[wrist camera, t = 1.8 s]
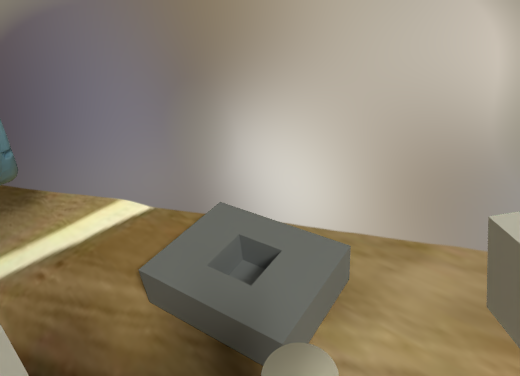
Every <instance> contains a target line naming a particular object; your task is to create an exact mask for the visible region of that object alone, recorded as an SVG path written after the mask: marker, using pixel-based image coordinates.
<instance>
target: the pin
mask: <svg viewBox="0 0 520 376" xmlns="http://www.w3.org/2000/svg"><path fill="white" fill-rule="evenodd" d="M261 376H339V373H338V370H337V367H336V365H335V363H334V361H333V359H332V358H331V357H330V356H329V355H328V354H327V353H326V352H325V351H324V350H322V349H321V348H319V347H317V346H314V345H312V344H308V343H290V344H287V345H284V346H281V347H280V348H278V349H276V350H275V351H274V352H273V353H272V354H271V355H270V356H269V357H268V358H267V360H266V361H265V363H264V366H263V368H262V373H261Z"/></svg>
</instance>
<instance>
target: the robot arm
mask: <svg viewBox="0 0 520 376" xmlns="http://www.w3.org/2000/svg"><path fill="white" fill-rule="evenodd" d="M17 173H18V168H17V164H16V161H15V158H14V156H13V153H12V150H11V148H10V144H9V141H8V138H7V135H6V133H5V130H4V127H3V125H2V122H1V120H0V185H2V184H4V183H7V182H10V181H12V180H13V179H14V178H15V177H16V176H17ZM487 308H488V309H489V310H490V312H491V313H492V314H493V315H494V317H495V318H496V319H497V320H498V322H499V323H500V324H501V325H502V327H503V328H504V329H505V330H506V332H507V333H508V334H509V336H510V337H511V338H512V339H513V341H514V342H515V343H516V344H517V346H518V347H519V348H520V211H519V212H513V213H507V214H501V215H495V216H489V221H488V268H487ZM0 376H29V375H28V373H27V372H26V370H25V368H24V366H23V364H22V363H21V361H20V359H19V357H18V355H17V354H16V352H15V350H14V348H13V346H12V345H11V343H10V341H9V339H8V337H7V336H6V334H5V332H4V330H3V328H2V327H1V325H0Z"/></svg>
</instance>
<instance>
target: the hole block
mask: <svg viewBox="0 0 520 376" xmlns="http://www.w3.org/2000/svg"><path fill="white" fill-rule="evenodd" d="M350 247H351V246H349V245H346V244H343V243H340V242H337V241H334V240H331V239H328V238H326V237H323V236H320V235H317V234H314V233H311V232H308V231H305V230H302V229H299V228H296V227H293V226H290V225H287V224H284V223H281V222H278V221H275V220H272V219H269V218H266V217H263V216H260V215H257V214H254V213H251V212H248V211H245V210H242V209H239V208H236V207H233V206H230V205H227V204H225V203H222V202H220V203H219V204H217V205H216V206H215V207H214V208H212V209H211V210H210V211H209V212H208V213H206V214H205V215H204V216H203V217H202V218H200V219H199V220H198V221H197V222H196V223H194V224H193V225H192V226H191V227H190V228H188V229H187V230H186V231H185V232H184V233H182V234H181V235H180V236H179V237H177V238H176V239H175V240H174V241H173V242H171V243H170V244H169V245H168V246H167V247H165V248H164V249H163V250H162V251H161V252H159V253H158V254H157V255H156V256H155V257H153V258H152V259H151V260H150V261H149V262H147V263H146V264H145V265H144V266H143V267H141V268H140V269H139V273H140V276H141V279H142V281H143V284H144V287H145V290H146V293H147V296H148V299H149V302H151V303H153V304H154V305H156V306H158V307H160V308H161V309H163V310H165V311H167V312H169V313H170V314H172V315H174V316H176V317H177V318H179V319H181V320H183V321H184V322H186V323H188V324H190V325H192V326H193V327H195V328H197V329H199V330H200V331H202V332H204V333H206V334H208V335H209V336H211V337H213V338H215V339H216V340H218V341H220V342H222V343H224V344H225V345H227V346H229V347H231V348H232V349H234V350H236V351H238V352H239V353H241V354H243V355H245V356H247V357H248V358H250V359H252V360H254V361H255V362H257V363H259V364H261V365H263V366H264V363H265V361H266V360H267V358H268V357H269V356H270V355H271V354H272V353H273V352H274V351H275V350H276V349H278V348H280V347H281V346H284V345H287V344H290V343H309V341H310V340H311V338H312V337H313V335H314V333H315V332H316V330H317V329H318V327H319V326H320V324H321V322H322V321H323V319H324V318H325V316H326V315H327V313H328V312H329V310H330V308H331V307H332V305H333V304H334V302H335V301H336V299H337V297H338V296H339V294H340V293H341V291H342V290H343V288H344V286H345V285H346V283H347V282H348V280H349V270H350Z"/></svg>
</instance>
